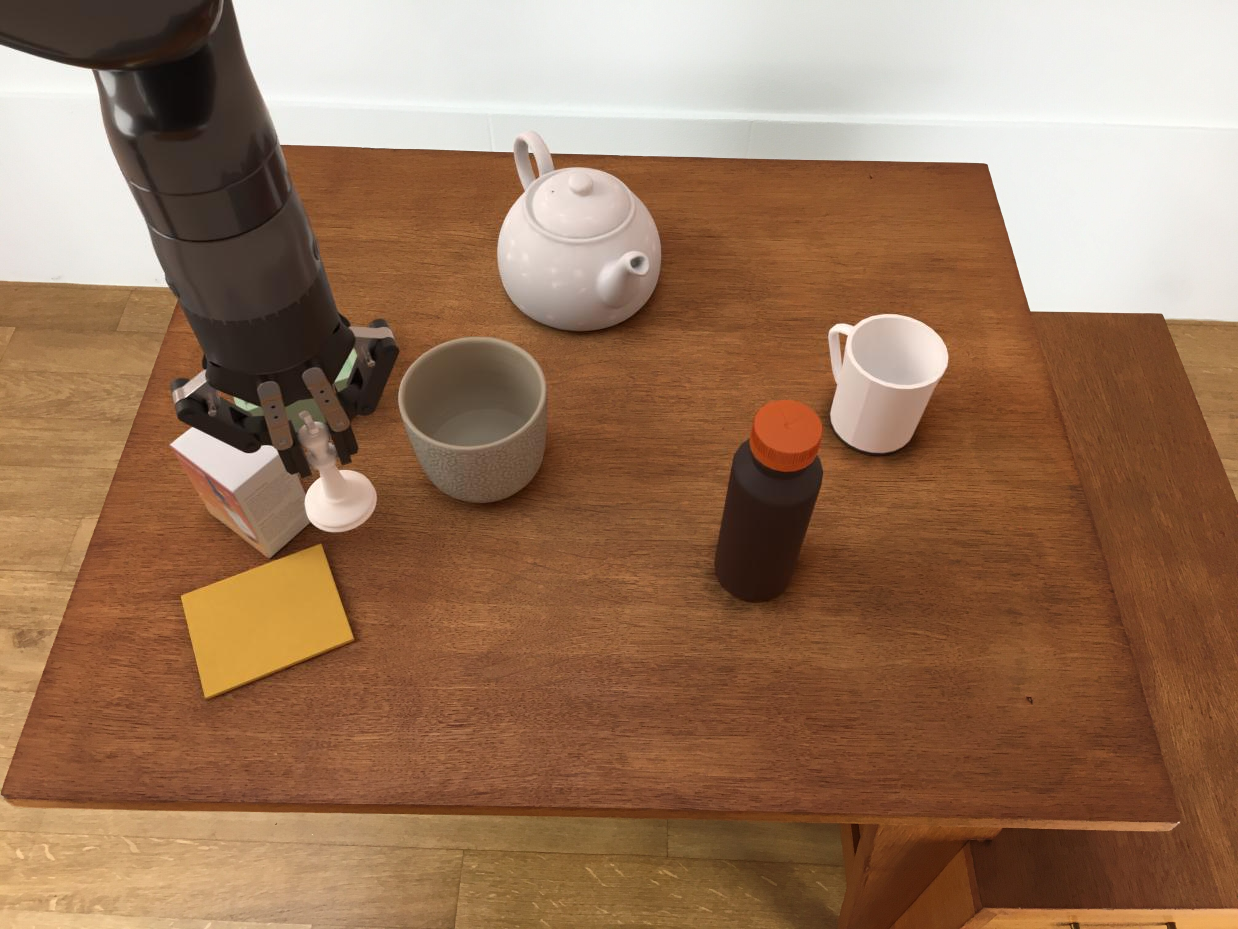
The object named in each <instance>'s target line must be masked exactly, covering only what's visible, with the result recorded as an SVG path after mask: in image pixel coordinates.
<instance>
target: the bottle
mask: <svg viewBox="0 0 1238 929" xmlns="http://www.w3.org/2000/svg"><path fill="white" fill-rule="evenodd" d="M823 435H824V425H823V422H822V420H821V418H820V416H819V415H818V413H816V411H814V409H812V408H811V407H810V406H808V405H807V404H805V403H802V402H799V401H798V400H797V401H796V400H792V399H776V400H773V401H770V402H767V403H766V404H764V405H762V406H761V407H760V408H759V409H758V410H757V411H756V413H755V415H754V417H753V419H752V425H751V429H750V437H749V438H748V439H747V440H745V441H744V442H741V444H740V445H739V446H738V448H737V449H736V451H735V453H734V454H733V457H732V462H731V467H730V473H729V478H728V484H727V489H726V494H725V500H724V506H723V510H722V517H721V521H720V527H719V534H718V539H717V544H716V549H715V555H714V560H713V565H714V572H715V575H716V577H717V580H718V581H719V583H720V585H721V586H722V587H723V588H724V590H726V591H727V592H728V593H729V594H732V595H733V596H735V597H737V598H738V599H740V600H745V601H748V602H765V601H768V600H771V599H773V598H776V597H777V596H778V595H780V594H781V593H782V592H783V591H785V590H786V589H787V588H788V586H789V584H790V582H791V581H792V578H793V575H794V572H795V569H796V566H797V562H798V559H799V557H800V553H801V550H802V548H803V544H804V541H805V537H806V534H807V531H808V528H809V525H810V522H811V519H812V517H813V513H814V510H815V508H816V503H817V500H818V498H819V494H820V491H821V488H822V483H823V477H824V469H823V464H822V460H821V458H820V457H819V455H818V452H819V449H820V446H821V442H822V439H823V437H824V436H823Z"/></svg>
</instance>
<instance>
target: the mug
mask: <svg viewBox="0 0 1238 929" xmlns="http://www.w3.org/2000/svg"><path fill="white" fill-rule="evenodd" d="M840 334H843V335H846V336H847V338H846V341H845V348H844V354H843V360H842V354H841V353H842V352H841V342H840ZM827 340H828V341H827V342H828V346H829V348H828V349H829V356H830V364H831V370H832V375H833V378H834V381H835V383H836V388H835V393H834V395H833V401H832V404H831V407H830V412H829V423H830V426H831V428H832V430H833V433H834V434H835V436H836V437H837V439H839V440H840V441H841V443H843V444H844V445H845V446H846V447H848V448H849V449H852V450H854V451H856V452H859V453H861V454H865V455H869V456H885V455H891V454H893V453H895V452H898V451H900V450H902V449H903V448H905V447H906V446H908V444H909V443H910V441H911V440H912V437H913V436H914V434H915V431H916V429H917V427H918V425H919V423H920V421H921V419H922V417H923V414H924V413H925V410H926V408H927V406H928V403H929V401H930V399H931V397H932V395H933V392H934V391H935V389H936V387H937V385H938V384H939V382H940V380H941V379H942V377H943V375H944V374H945V372H946V370H947V368H948V363H949V353H948V350H947V346H946V344H945V343H944V341H943V339H942V336H940V335H939V334H938V333H937V332H936V331H935V330H934V329H933V328H931V327H930V326H928V325H927V324H926V323H923V322H922V321H920V320H917V319H916V318H913V317H910V316H905V315H901V314H895V313H894V314H892V313H883V314H876V315H870V316H869V317H867V318H864V319H862V320H860V321H859V322H858V323H856V324H855V325H851V324H849V323H837V324H835V325H834V326H833V327H831V328H830V329H829V331H828V335H827Z"/></svg>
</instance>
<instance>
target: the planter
mask: <svg viewBox="0 0 1238 929" xmlns="http://www.w3.org/2000/svg"><path fill="white" fill-rule="evenodd" d="M397 401H398V408H399V412H400V415H401V419H402V422H403V425H404V428H405V431H406V434H407V437H408V439H409V441H410V444H411V446H412V448H413V452H414V453H415V456H416V459H417V460H418V462H419V464H420V466H421V468H422V470H423V472H424V473H425V475H426V476H427V478H428V479H429V481H430V482H431V483H432V484H433V486H435V487H436V488H437V489H438V490H440V491H441V492H442V493H444V494H445V495H447V496H448V497H451V498H453V499H455V500H459V501H461V502H462V501H463V502H466V503H472V504H473V503H474V504H486V503H488V504H489V503H493V502H498V501H501V500H505V499H507V498H509V497H511V496H513V495H515V494H517V493H518V492H520V491H521V490H522V489H524V488H525V487H526V486H527V485H528V484H529V483H530V482H531V481H532V480H533V479H534V477H535V476H536V474H537V472H538V471H539V470H540V467H541V465H542V462H543V460H544V455H545V449H546V443H547V432H548V431H547V430H548V411H549V410H548V405H549V404H548V387H547V380H546V376H545V374H544V371H543V369H542V367H541V365H540V364H539V362H538V361H537V360H536V359H535V357H533V356H532V355H531V354H530V353H529V352H528V351H527V350H525V349H523V348H522V347H520V346H518V345H517V344H515V343H513V342H511V341H507V340H504V339H502V338H501V339H500V338H497V337H490V336H467V337H460V338H455V339H451V340H448V341H445V342H443V343H440V344H438V345H435V346H434V347H432V348H430V349H429V350H427V351H426V352H424V353H422V354H421V355H420V356H419V357H417V358H416V359H415V360H414V362H412V363H411V364H410V366H409V367H408V369H407V370H406V372H405V373H404V375H403V377H402V379H401V382H400V385H399V388H398V394H397Z"/></svg>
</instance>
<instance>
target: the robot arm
mask: <svg viewBox="0 0 1238 929" xmlns="http://www.w3.org/2000/svg"><path fill="white" fill-rule="evenodd" d="M233 2H234V1H233V0H0V46H3V47H6V48H9V49H11V50H14V51H18V52H21V53H24V54H27V55H30V56H34V57H37V58H41V59H44V60H47V61H51V62H54V63H59V64H62V65H66V66H72V67H76V68H82V69H86V70H87V69H88V70H91V71H92V74H93V77H94V81H95V84H96V88H97V93H98V98H99V106H100V113H101V117H102V124H103V127H104V130H105V134H106V137H107V140H108V143H109V146H110V150H111V152H112V154H113V156H114V159H115V161H116V163H117V166H118V167H119V170H120V172H121V175H122V176H123V178H124V182H125V183H126V184H127V187H128V189H129V191H130V194H131V195H132V198H133V200H134V201H135V204H136V205H137V207H138V209H139V211H140V213H141V215H142V217H143V219H144V222H145V224H146V228H147V230H148V231H147V232H148V234H149V238H150V241H151V245H152V248H153V250H154V253H155V255H156V257H157V260H158V263H159V265H160V267H161V269H162V271H163V273H164V279H165V280H164V281H165V282H166V284H167V287H168V288H169V290H170V291H171V293H172V294H173V296H174V297H175V298H176V300H177V301H178V303H179V305H180V308H181V309H182V312H183V314H184V315H185V317H186V320H187V322H188V323H189V326H190V328H191V330H192V332H193V334H194V336H195V337H196V340H197V343H198V344H199V346H200V348H201V350H202V352H203V355H202V358H201V368H202V369H203V370H201V371H200V372H199V373H198V374H196V375H195V376H194V377H192V379H189V378H186V377H180V378H179V377H178V378H176V379H174V380H173V381H172V382H171V383H170V385H169V388H170V393H171V398H172V402H173V407H174V409H175V413H176V417H177V419H178V420H179V421H180V422H182V423H183V424H185V425H188V426H189V427H191V428H192V427H194V428H196V429H198V430H200V431H202V432H204V433H206V434H208V435H210V436H212V437H214V438H216V439H218V440H220V441H222V442H224V443H226V444H228V445H230V446H232V447H234V448H236V449H238V450H240V451H242V452H244V453H254V452H257V451H258V450H259V449H260V448H261V446H264V445H269V446H273V447H274V448H275V449H277V452H278V454H279V456H280V458H281V460H282V462H283V465H284V467H285V469H286V471H287V472H288V473H290V474H291V475H293V474H296V473H297V474H298V475H299V476H300V478H301V480H304V479H309V478H310V477H313V473H312V471H311V467H310V466H309V465H308V462H307V459H306V451H305V450H304V447H303V446H302V445H301V444H300V443H299V441H298V437H297V436H298V432H297V433H296V431H295V428H294V426H293V423H292V421H291V420H288V419H287V415H286V411H285V407H287V406H289V405H291V404H293V403H295V402H297V401H299V400H306V399H313V398H314V400H315V401H316V403H317V405H318V407H319V409H320V411H321V412H322V414H323V415H324V418H325V421H326V423H325V424H326V426H327V427H328V429H329V432H330V437H331V439H332V442H333V445H334V446H335V448H336V451H337V453H338V456H339V458H338V460H339V462H340V464H341V467H342V466H346V465H350V464H352V463H353V461H352V457H351V456H352V455H356V454H358V452H359V444H358V441H357V438H356V436H355V433H354V429H353V426H352V421H353V420H354V418H356V417H357V416H361V417H368V416H370V415H372V414H374V413H375V412H376V409H377V407H378V404H379V403H380V400H381V398H382V396H383V393H384V390H385V388H386V386H387V383H388V381H389V378H390V377H391V374H392V371H393V370H394V367H395V365H396V362H397V360H398V357H399V355H400V351H401V350H400V347H399V346H398V343H397V341H396V339H395V338H396V337H394V333H393V332H392V330H391V327H390V325H389V322H388V321H387V320H386V319H385V318H375V319H374V320H372V321H371V322H370V323H369V324H368V326H367V327H366V326H355V325H351V323H350V321H349V319H348V317H346V316H344V315H343V314H341V313H340V312H339V310H338V308H337V305H336V301H335V298H334V295H333V291H332V288H331V285H330V282H329V279H328V276H327V273H326V268H325V266H324V262H323V260H322V259H323V258H322V256H321V248H320V244H319V240H318V239H317V236H316V234H315V233H314V231H313V227H312V225H311V220H310V218H309V215H308V212H307V210H306V208H305V205H304V203H303V201H302V199H301V197H300V195H299V193H298V191H297V189H296V187H295V185H294V182H293V180H292V177H291V174H290V171H289V167H288V164H287V161H286V158H285V155H284V152H283V149H282V146H281V142H280V139H279V136H278V133H277V130H276V128H275V124H274V121H273V119H272V115H271V114H270V110H269V109H268V106H267V104H266V102H265V100H264V97H263V95H262V93H261V90H260V88H259V85H258V83H257V81H256V78H255V76H254V73H253V71H252V69H251V66H250V63H249V60H248V57H247V54H246V50H245V46H244V42H243V39H242V34H241V30H240V26H239V22H238V18H237V13H236V11H235V7H234V3H233ZM353 348H354V350H355V352H356V354H357V357H356V360H355V363H354V365H353V368H352V370H351V373H350V376H349V378H348V381H347V387H346V388H344V389H343V390H341V391H339V392H338V390H337V388H336V386H335V384H334V382H335V380H336V379H337V377H338V375H339V373H340V371H341V370H342V368H343V366H344V364H345V362H346V361H347V359H348V357H349V355H350V353H351V352H352V350H353ZM219 392H221V393H223V394H226V395H228V396H231V397H233V398H234V397H236V398H238V399H241V400H243V401H246V402H248V403H251V404H253V405H256V406H259V407H261V408H262V411H263V415H264V416H253V415H252V414H251V413H250V412H248V411H246V410H244V409H242V408H240V407H239V406H237V405H236V403H233V402H232V401H229V400H228V399H226V398H224V397H222V396H220V393H219Z"/></svg>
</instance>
